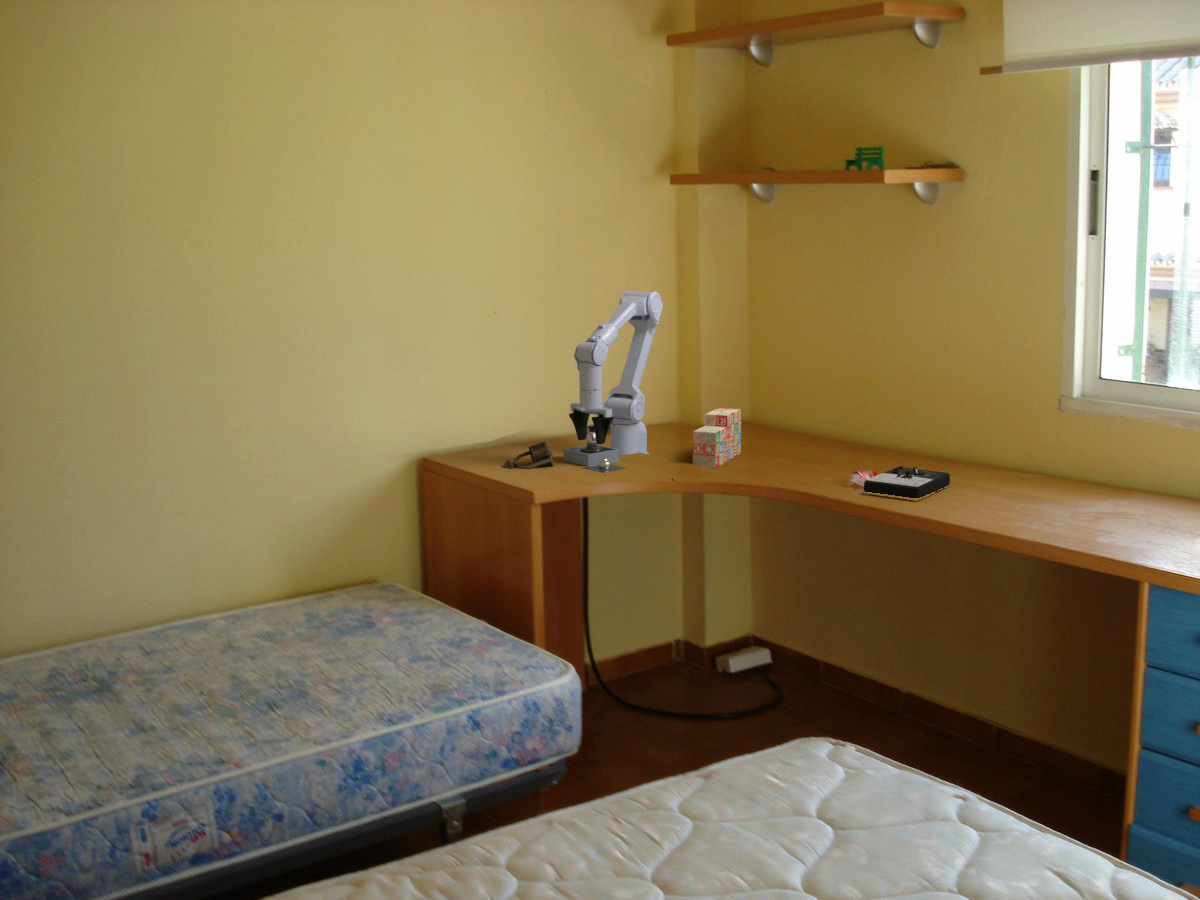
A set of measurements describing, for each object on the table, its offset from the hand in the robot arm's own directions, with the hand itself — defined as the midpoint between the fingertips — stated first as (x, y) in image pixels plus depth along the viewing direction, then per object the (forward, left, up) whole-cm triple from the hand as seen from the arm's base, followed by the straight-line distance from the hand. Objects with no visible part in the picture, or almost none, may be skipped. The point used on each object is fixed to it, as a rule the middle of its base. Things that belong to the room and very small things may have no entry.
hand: (591, 441), depth 315 cm
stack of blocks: (-28, +17, -6) cm, 34 cm away
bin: (0, 0, -6) cm, 6 cm away
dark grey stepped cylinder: (0, 0, -5) cm, 5 cm away
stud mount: (+4, +10, -6) cm, 12 cm away
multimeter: (-36, +71, -7) cm, 80 cm away
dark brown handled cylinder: (+15, -6, -6) cm, 17 cm away
